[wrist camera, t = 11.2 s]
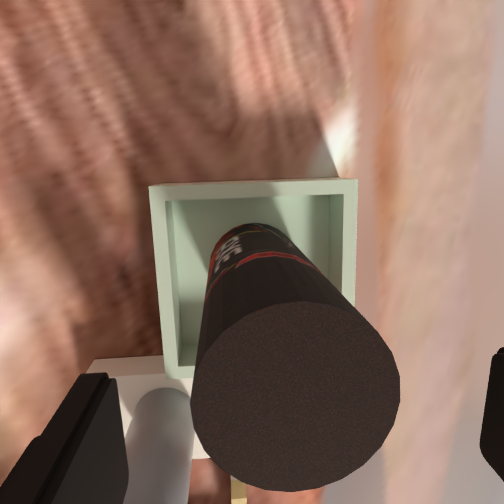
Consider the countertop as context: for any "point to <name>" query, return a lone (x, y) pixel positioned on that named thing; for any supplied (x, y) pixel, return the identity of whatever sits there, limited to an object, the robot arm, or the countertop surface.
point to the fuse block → (157, 431)
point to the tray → (230, 216)
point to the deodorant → (286, 368)
